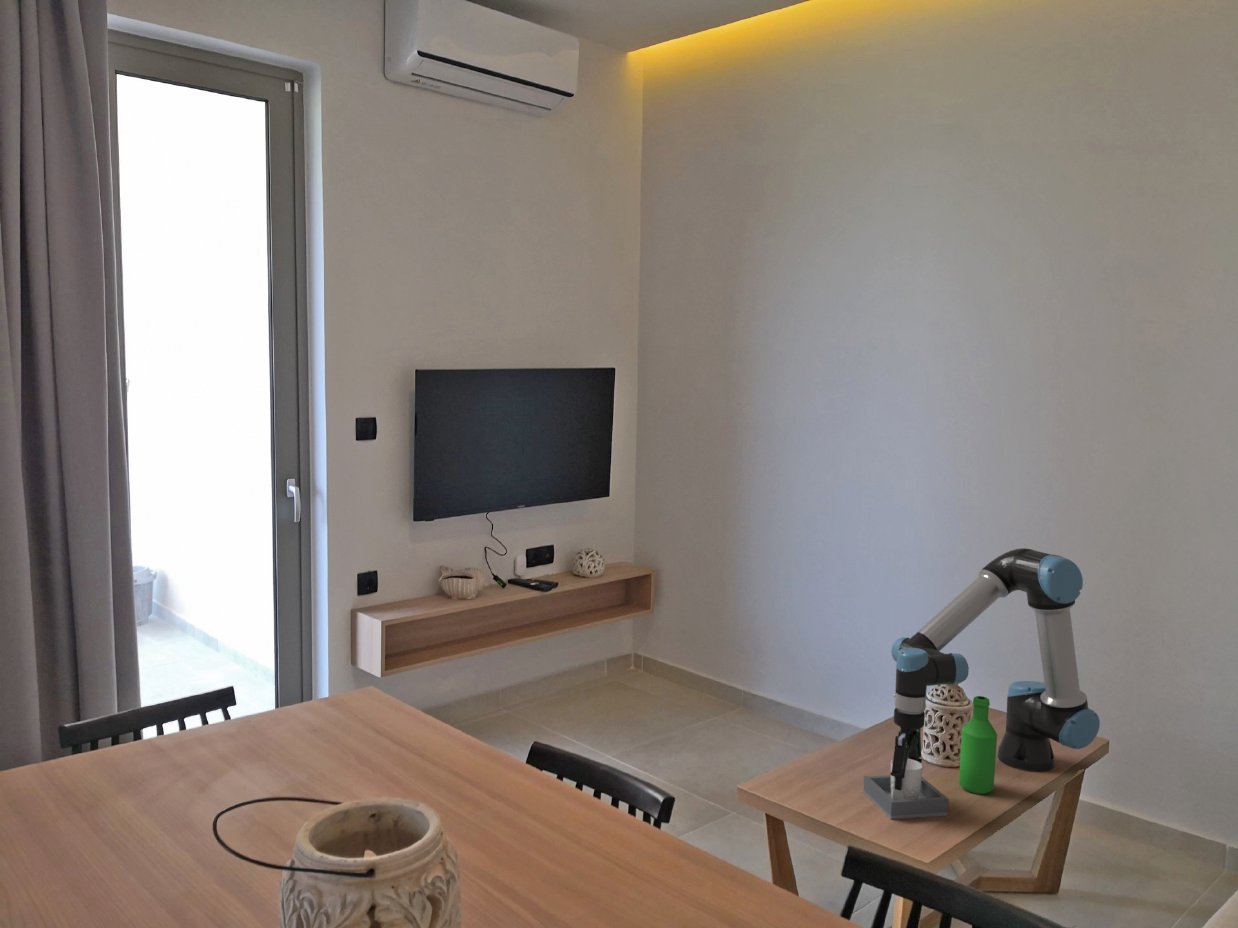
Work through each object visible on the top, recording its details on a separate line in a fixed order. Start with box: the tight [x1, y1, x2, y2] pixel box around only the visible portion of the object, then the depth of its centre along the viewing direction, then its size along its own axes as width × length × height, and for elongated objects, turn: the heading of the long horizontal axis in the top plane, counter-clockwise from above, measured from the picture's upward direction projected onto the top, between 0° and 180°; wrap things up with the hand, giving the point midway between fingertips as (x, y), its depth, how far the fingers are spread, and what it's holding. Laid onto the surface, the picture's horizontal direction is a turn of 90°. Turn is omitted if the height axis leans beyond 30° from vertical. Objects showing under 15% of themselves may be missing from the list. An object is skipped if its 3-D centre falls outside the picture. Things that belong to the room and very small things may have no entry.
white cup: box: [890, 759, 924, 799], centre depth 242 cm, size 8×8×10 cm
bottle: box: [958, 695, 998, 795], centre depth 253 cm, size 9×9×25 cm
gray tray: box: [863, 774, 950, 820], centre depth 243 cm, size 15×15×4 cm
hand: (905, 793), depth 243 cm, fingers open, 10 cm apart
